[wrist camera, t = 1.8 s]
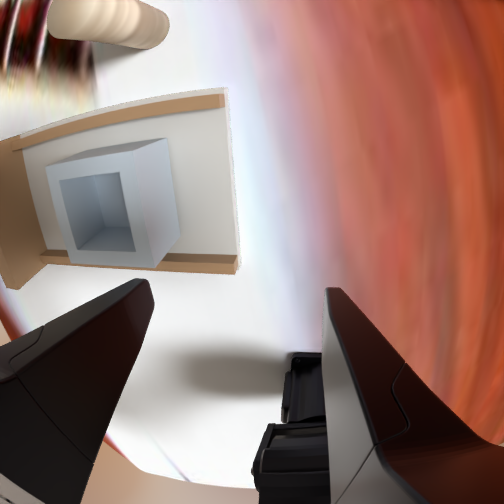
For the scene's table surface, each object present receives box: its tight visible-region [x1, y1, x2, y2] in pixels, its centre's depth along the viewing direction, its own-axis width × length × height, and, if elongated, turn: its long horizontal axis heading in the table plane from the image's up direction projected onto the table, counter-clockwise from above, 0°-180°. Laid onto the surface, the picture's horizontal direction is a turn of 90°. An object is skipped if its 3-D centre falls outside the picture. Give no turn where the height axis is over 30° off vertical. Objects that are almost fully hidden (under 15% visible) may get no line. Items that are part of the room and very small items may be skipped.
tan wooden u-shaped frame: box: [0, 87, 242, 290], centre depth 18 cm, size 20×12×6 cm, turn 93°
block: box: [45, 138, 181, 268], centre depth 18 cm, size 7×7×4 cm
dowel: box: [47, 0, 170, 49], centre depth 12 cm, size 3×3×8 cm
